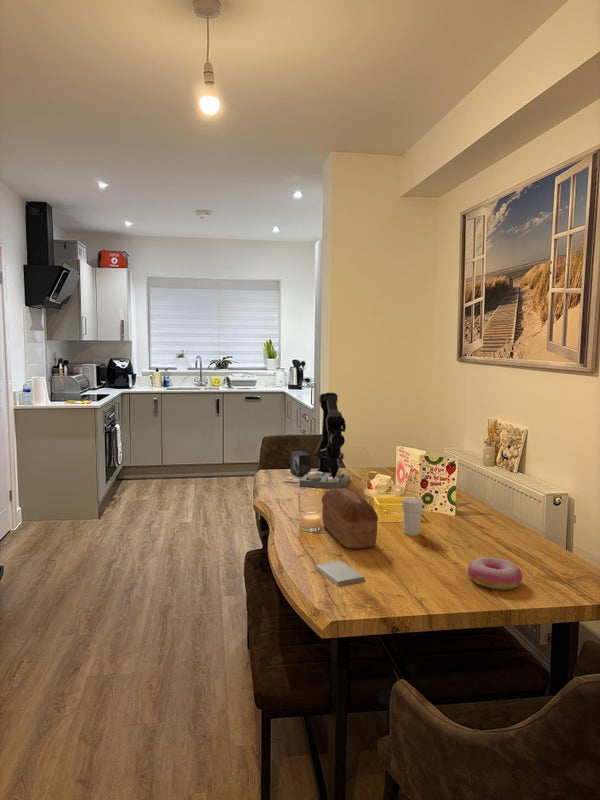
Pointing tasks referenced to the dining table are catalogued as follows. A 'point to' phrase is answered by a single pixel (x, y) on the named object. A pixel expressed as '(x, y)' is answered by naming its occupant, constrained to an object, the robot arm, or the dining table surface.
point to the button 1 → (313, 476)
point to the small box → (300, 463)
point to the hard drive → (339, 573)
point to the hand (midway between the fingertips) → (333, 478)
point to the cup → (412, 515)
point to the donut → (495, 573)
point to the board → (320, 481)
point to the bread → (349, 518)
